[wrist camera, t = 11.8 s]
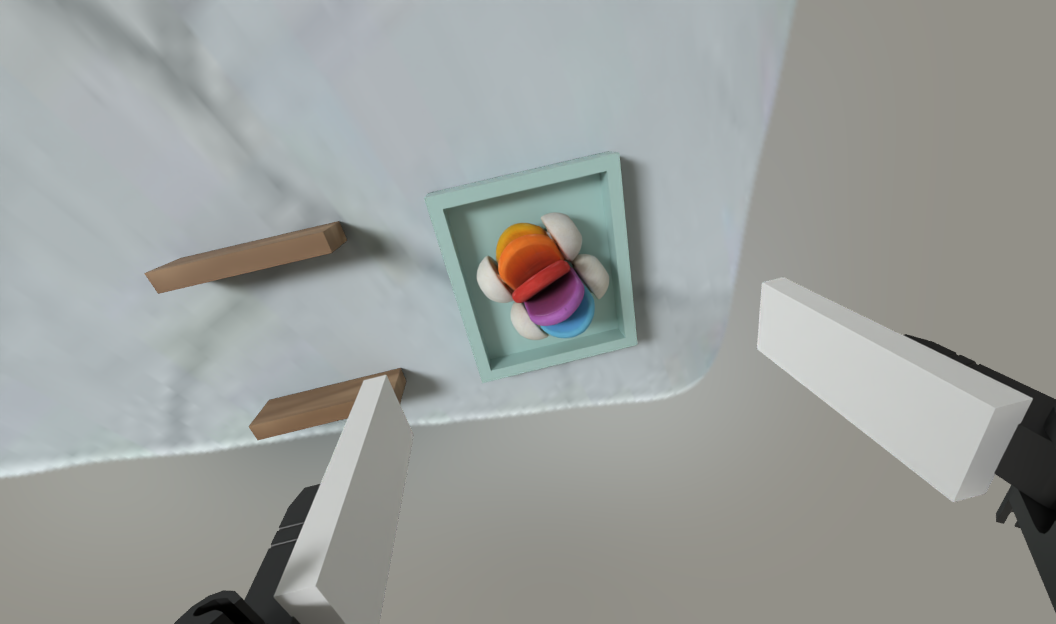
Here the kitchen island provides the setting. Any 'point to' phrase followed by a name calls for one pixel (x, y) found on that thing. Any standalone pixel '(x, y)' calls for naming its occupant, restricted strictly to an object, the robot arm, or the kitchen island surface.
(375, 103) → the kitchen island surface
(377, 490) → the robot arm
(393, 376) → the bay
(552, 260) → the rainbow disc toy
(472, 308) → the tray
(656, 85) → the kitchen island surface
